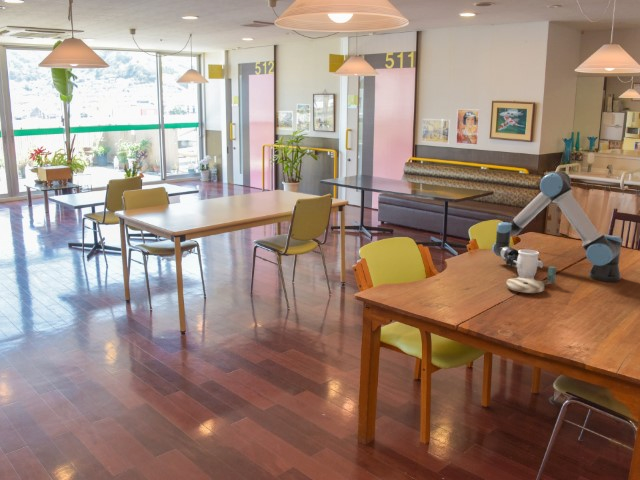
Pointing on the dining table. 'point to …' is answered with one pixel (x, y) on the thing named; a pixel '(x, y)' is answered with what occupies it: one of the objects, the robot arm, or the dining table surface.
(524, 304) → the dining table surface
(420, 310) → the dining table surface
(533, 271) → the jar
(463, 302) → the dining table surface
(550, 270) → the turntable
